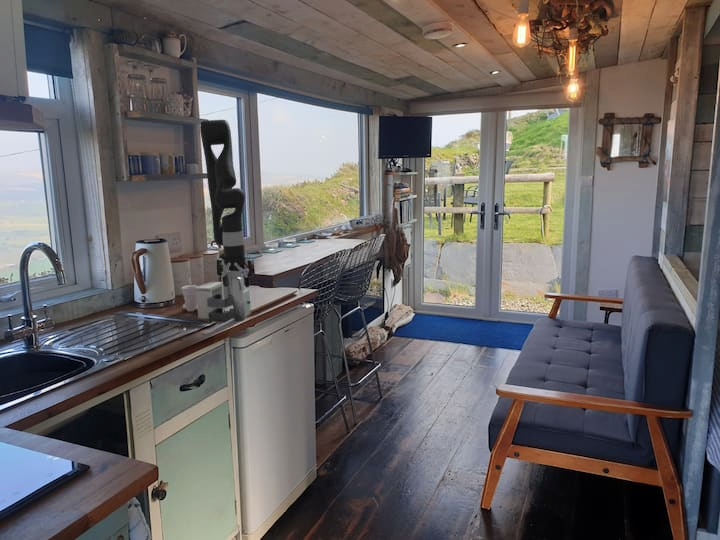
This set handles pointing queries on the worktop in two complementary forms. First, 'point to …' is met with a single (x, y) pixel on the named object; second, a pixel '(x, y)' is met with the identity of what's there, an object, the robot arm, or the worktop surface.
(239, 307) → the door
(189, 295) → the smoothie
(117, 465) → the worktop surface
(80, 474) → the worktop surface
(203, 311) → the cabinet
